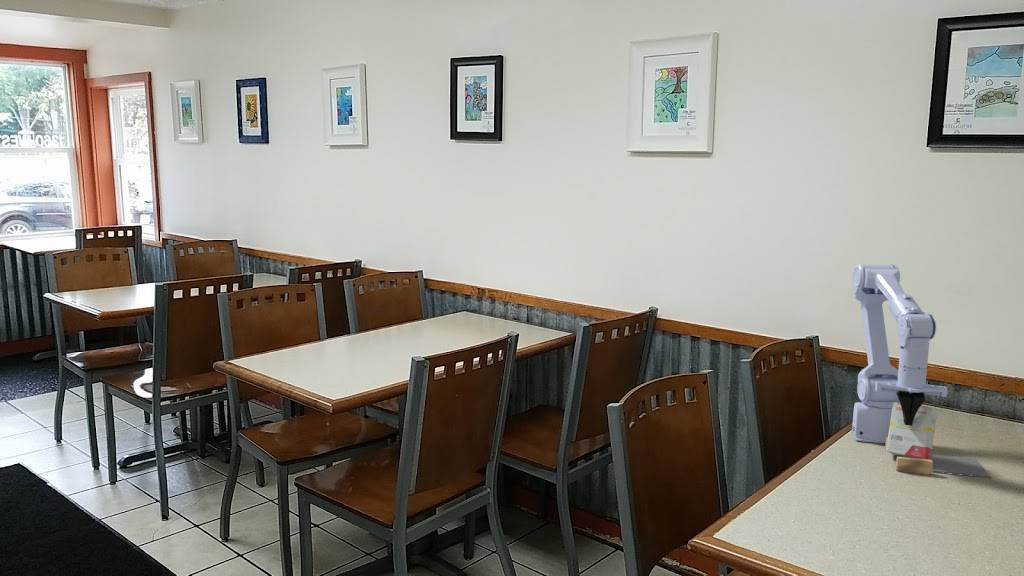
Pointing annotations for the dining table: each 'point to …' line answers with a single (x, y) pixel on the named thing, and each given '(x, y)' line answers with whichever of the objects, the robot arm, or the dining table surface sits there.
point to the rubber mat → (958, 466)
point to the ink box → (912, 433)
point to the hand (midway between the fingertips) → (907, 424)
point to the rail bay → (913, 464)
